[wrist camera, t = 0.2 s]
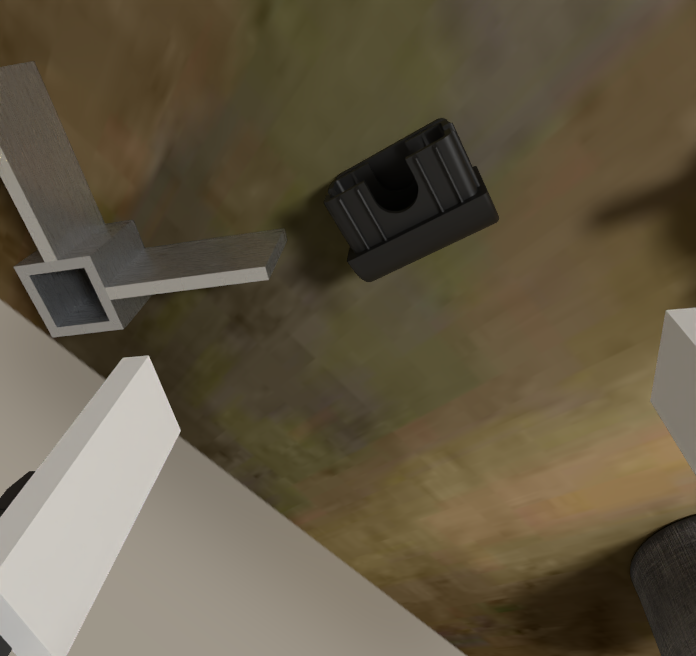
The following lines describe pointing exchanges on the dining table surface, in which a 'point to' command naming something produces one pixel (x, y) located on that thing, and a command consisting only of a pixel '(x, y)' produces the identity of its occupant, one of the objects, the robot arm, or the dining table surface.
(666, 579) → the planter
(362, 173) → the end cap
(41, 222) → the hinge leaves
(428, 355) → the dining table surface
